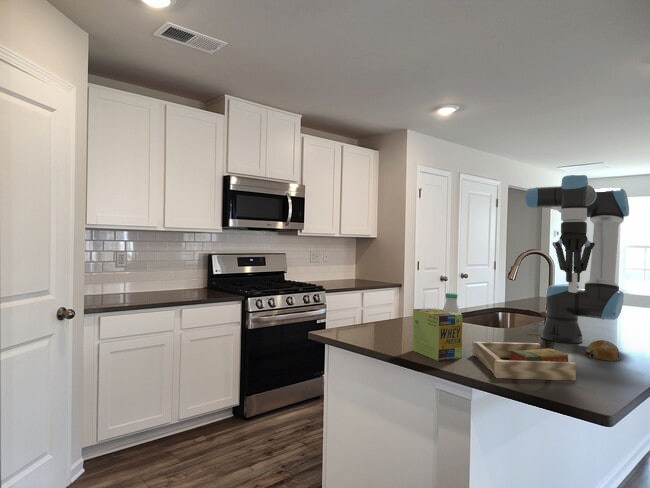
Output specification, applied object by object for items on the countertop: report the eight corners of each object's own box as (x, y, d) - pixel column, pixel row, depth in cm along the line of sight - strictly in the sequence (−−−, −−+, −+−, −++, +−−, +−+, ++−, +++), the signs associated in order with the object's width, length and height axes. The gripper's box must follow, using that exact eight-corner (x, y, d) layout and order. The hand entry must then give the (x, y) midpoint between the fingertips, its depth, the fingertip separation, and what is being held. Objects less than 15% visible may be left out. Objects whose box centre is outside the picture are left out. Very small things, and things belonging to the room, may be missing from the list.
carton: (568, 366, 142) (568, 354, 142) (526, 369, 138) (526, 356, 138) (550, 359, 150) (550, 347, 150) (509, 362, 146) (509, 349, 146)
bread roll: (613, 372, 147) (626, 353, 145) (582, 355, 152) (594, 336, 150) (612, 365, 155) (624, 347, 153) (583, 349, 160) (594, 331, 158)
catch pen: (538, 357, 151) (538, 343, 151) (575, 380, 126) (575, 363, 126) (472, 355, 153) (472, 341, 153) (496, 378, 128) (496, 361, 128)
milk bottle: (462, 346, 166) (462, 295, 166) (441, 345, 167) (442, 294, 167) (459, 341, 173) (460, 292, 173) (440, 340, 175) (440, 292, 175)
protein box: (438, 361, 145) (439, 315, 145) (411, 350, 159) (412, 308, 159) (462, 358, 149) (463, 314, 149) (434, 348, 163) (435, 307, 163)
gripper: (587, 222, 146) (586, 291, 147) (548, 221, 147) (547, 290, 147) (600, 221, 139) (599, 293, 139) (559, 220, 140) (558, 293, 140)
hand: (572, 292), depth 143 cm, fingers closed
